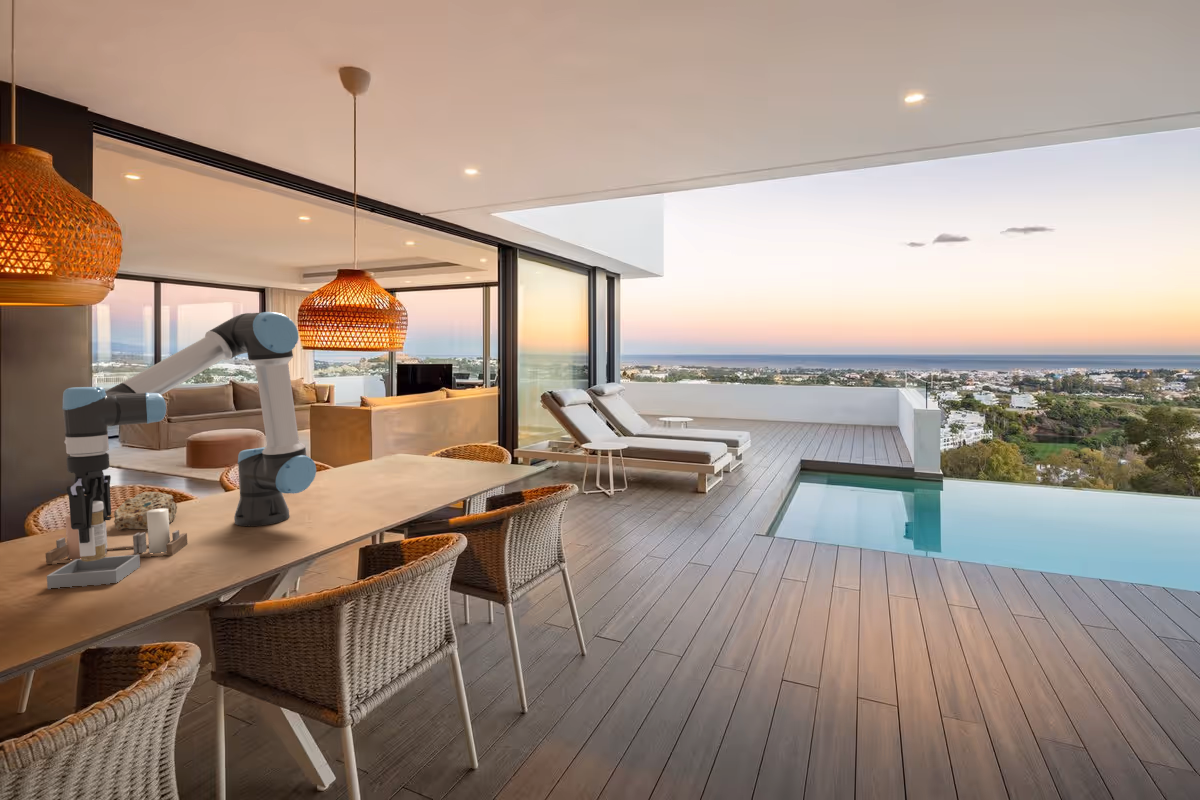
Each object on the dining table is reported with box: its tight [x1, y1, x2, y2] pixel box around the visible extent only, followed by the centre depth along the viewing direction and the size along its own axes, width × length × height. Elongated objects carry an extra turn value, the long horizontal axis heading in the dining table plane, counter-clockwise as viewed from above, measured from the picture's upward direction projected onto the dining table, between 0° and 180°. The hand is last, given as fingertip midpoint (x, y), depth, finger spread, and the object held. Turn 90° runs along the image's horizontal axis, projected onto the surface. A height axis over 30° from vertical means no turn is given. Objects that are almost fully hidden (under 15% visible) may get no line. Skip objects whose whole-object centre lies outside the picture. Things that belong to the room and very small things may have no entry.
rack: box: [45, 529, 188, 565], centre depth 158 cm, size 27×10×5 cm, turn 105°
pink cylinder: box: [65, 514, 82, 560], centre depth 155 cm, size 5×5×11 cm
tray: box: [46, 554, 141, 590], centre depth 141 cm, size 13×11×3 cm
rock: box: [113, 491, 178, 531], centre depth 187 cm, size 21×14×10 cm
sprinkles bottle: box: [81, 501, 107, 562], centre depth 141 cm, size 5×5×13 cm
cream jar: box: [147, 508, 171, 554], centre depth 160 cm, size 5×5×11 cm
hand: (94, 551), depth 141 cm, fingers closed on sprinkles bottle, 4 cm apart
